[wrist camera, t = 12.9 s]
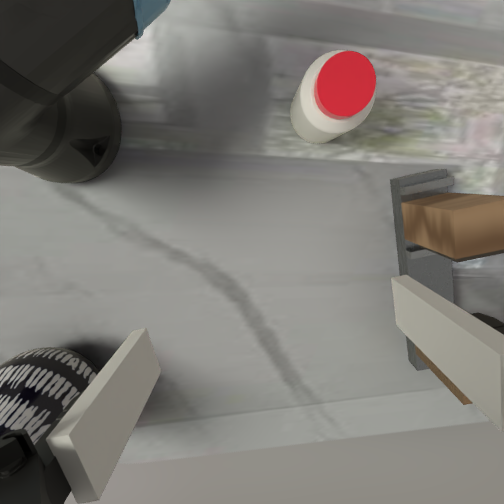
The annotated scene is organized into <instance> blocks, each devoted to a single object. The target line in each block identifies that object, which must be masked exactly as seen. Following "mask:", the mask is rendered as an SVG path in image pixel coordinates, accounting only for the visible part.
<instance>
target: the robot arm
mask: <svg viewBox="0 0 504 504" xmlns="http://www.w3.org/2000/svg"><path fill="white" fill-rule="evenodd" d="M170 1H171V0H0V166H15V167H17V168H19V169H21V170H23V171H25V172H28V173H30V174H32V175H34V176H36V177H38V178H41V179H44V180H47V181H51V182H57V183H78V182H84V181H88V180H90V179H93V178H95V177H97V176H98V175H100V174H101V173H103V172H104V171H105V170H106V169H107V168H108V167H109V166H110V164H111V163H112V162H113V160H114V158H115V156H116V154H117V152H118V149H119V145H120V140H121V120H120V115H119V111H118V108H117V105H116V103H115V100H114V98H113V96H112V95H111V93H110V91H109V90H108V88H107V87H106V86H105V84H104V83H103V82H102V81H101V80H100V79H99V78H98V77H97V76H96V75H95V74H94V73H93V72H95V71H96V70H97V69H98V68H99V67H101V66H102V65H103V64H104V63H106V62H107V61H108V60H109V59H110V58H112V57H113V56H114V55H115V54H116V53H118V52H119V51H120V50H121V49H122V48H124V47H125V46H126V45H127V44H129V43H130V42H131V41H132V40H133V39H137V40H138V39H139V38H140V37H141V36H142V35H143V31H144V29H145V28H146V27H147V26H148V25H150V24H151V23H152V22H153V21H154V20H155V19H156V18H157V17H158V16H159V15H160V14H161V13H163V12H164V11H165V9H166V8H167V7H168V5H169V3H170ZM391 281H392V290H393V299H394V308H395V317H396V326H397V327H398V328H399V329H400V330H401V331H402V332H403V333H404V334H405V335H406V336H407V337H408V338H409V339H410V340H411V341H412V342H413V343H414V344H415V345H416V346H417V347H418V348H419V349H420V350H421V351H422V352H423V353H424V354H425V355H426V356H427V357H428V358H429V359H430V360H431V361H432V362H433V363H434V364H435V365H436V366H437V367H438V368H439V369H440V370H441V371H442V372H443V373H444V374H445V375H446V376H447V377H448V378H449V379H450V380H451V381H452V382H453V383H454V384H455V385H456V386H457V387H458V388H459V389H460V390H461V392H462V393H463V394H464V395H465V396H466V397H467V398H468V399H469V400H470V401H471V402H472V403H473V404H474V405H475V406H476V407H477V408H478V409H479V410H480V411H481V412H482V413H483V414H484V415H485V416H486V417H487V418H488V419H489V420H490V421H491V422H492V423H493V424H494V425H495V426H496V427H497V428H498V429H499V430H500V431H501V432H504V323H502V322H501V321H499V320H497V319H495V318H493V317H490V316H487V315H484V314H481V313H473V314H469V313H468V312H466V311H464V310H463V309H461V308H459V307H458V306H456V305H455V304H453V303H451V302H450V301H448V300H446V299H445V298H443V297H442V296H440V295H438V294H437V293H435V292H433V291H432V290H430V289H429V288H427V287H425V286H424V285H422V284H421V283H419V282H417V281H416V280H414V279H412V278H411V277H409V276H408V275H402V276H397V277H392V278H391ZM160 373H161V369H160V366H159V363H158V360H157V357H156V354H155V351H154V348H153V346H152V343H151V340H150V337H149V334H148V331H147V328H144V329H139V330H134V331H132V332H131V334H130V335H129V336H128V337H127V339H126V340H125V341H124V342H123V344H122V345H121V346H120V347H119V349H118V350H117V351H116V352H115V354H114V355H113V356H112V357H111V359H110V360H109V361H108V362H107V364H106V365H105V366H104V367H103V368H102V370H101V371H100V372H99V373H98V375H97V376H96V377H95V378H94V380H93V381H92V382H91V383H90V385H89V386H88V387H87V388H86V390H83V391H82V392H81V393H79V394H78V395H77V396H76V397H74V398H73V399H72V400H71V401H70V402H69V404H68V405H67V406H66V407H65V408H64V410H63V412H61V413H60V414H59V416H58V417H57V418H56V421H54V422H53V423H52V424H51V425H50V426H49V428H48V429H47V430H46V431H45V432H44V434H43V435H42V436H41V437H40V438H39V440H38V441H37V442H36V443H35V445H34V444H33V442H32V440H31V438H30V436H29V434H28V432H27V431H26V429H17V430H14V431H11V432H9V433H7V434H5V435H3V436H1V437H0V504H64V502H65V500H66V498H67V497H68V495H69V493H70V492H71V491H72V493H73V495H74V498H75V500H76V502H77V503H78V504H80V503H86V502H91V501H97V500H100V497H101V495H102V493H103V491H104V489H105V487H106V485H107V483H108V481H109V479H110V477H111V475H112V473H113V471H114V469H115V466H116V464H117V462H118V460H119V458H120V456H121V454H122V452H123V450H124V448H125V446H126V444H127V442H128V440H129V437H130V435H131V433H132V431H133V429H134V427H135V425H136V423H137V421H138V419H139V417H140V415H141V413H142V411H143V409H144V406H145V404H146V402H147V400H148V398H149V396H150V394H151V392H152V390H153V388H154V386H155V384H156V382H157V380H158V377H159V375H160Z"/></svg>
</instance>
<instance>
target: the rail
mask: <svg viewBox="0 0 504 504" xmlns="http://www.w3.org/2000/svg"><path fill="white" fill-rule="evenodd" d="M390 184H391V193H392V203H393V213H394V222H395V232H396V242H397V251H398V261H399V270H400V276H402V275H408V276H409V277H411V278H412V279H414V280H416V281H417V282H419V283H421V284H422V285H424V286H425V287H427V288H429V289H430V290H432V291H433V292H435V293H437V294H438V295H440V296H442V297H443V298H445V299H446V300H448V301H450V302H451V303H453V304H454V291H453V274H452V260H451V259H448V258H446V257H443V256H441V255H438V254H436V253H433V252H431V251H428V250H426V249H423V248H421V247H419V245H418V244H415V243H413V242H410V241H408V240H405V236H404V226H403V216H402V205H401V203H403V202H407V201H412V200H416V199H421V198H425V197H430V196H434V195H439V194H444V193H448V186H450V185H454V178H453V177H447V169H435V170H430V171H426V172H421V173H417V174H412V175H408V176H403V177H399V178H395V179H390ZM406 338H407V348H408V357H409V361H410V363H411V364H412V365H413V366H414V367H415V368H416V370H417V371H419V370H424V369H431V371H432V372H433V373H434V374H435V375H436V376H437V377H438V378H439V379H440V380H441V381H442V382H443V383H444V384H445V385H446V387H447V388H448V389H449V390H450V391H451V392H452V393H453V394H454V395H455V396H456V397H457V398H458V399H459V400H460V401H461V403H462V404H463V405H465V404H471V403H472V402H471V401H470V400H469V399H468V398H467V397H466V396H465V395H464V394H463V393H462V392H461V390H460V389H459V388H458V387H457V386H456V385H455V384H454V383H453V382H452V381H451V380H450V379H449V378H448V377H447V376H446V375H445V374H444V373H443V372H442V371H441V370H440V369H439V368H438V367H437V366H436V365H435V364H434V363H433V362H432V361H431V360H430V359H429V358H428V357H427V356H426V355H425V354H424V353H423V352H422V351H421V350H420V349H419V348H418V347H417V346H416V345H415V344H414V343H413V342H412V341H411V340H410V339H409V338H408V337H407V336H406Z"/></svg>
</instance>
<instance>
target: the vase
mask: <svg viewBox="0 0 504 504" xmlns="http://www.w3.org/2000/svg"><path fill="white" fill-rule="evenodd" d="M98 373H99V371H98V370H97V368H96V367H95V366H94V364H93V363H92V362H91V361H89V360H88V359H87V358H86V357H84V356H83V355H81V354H79V353H77V352H75V351H72V350H69V349H64V348H56V347H46V348H38V349H33V350H29V351H26V352H23V353H21V354H19V355H16V356H14V357H12V358H11V359H9V360H7V361H6V362H4V363H3V364H1V365H0V437H1V436H3V435H5V434H7V433H9V432H11V431H14V430H17V429H26V431H27V432H28V434H29V436H30V438H31V440H32V442H33V444H34V445H35V443H36V442H37V441H38V440H39V438H40V437H41V436H42V435H43V434H44V432H45V431H46V430H47V429H48V428H49V426H50V425H51V424H52V423H53V422H54V421H56V418H57V417H58V416H59V414H60V413H61V412H63V410H64V408H65V407H66V406H67V405H68V404H69V402H70V401H71V400H72V399H73V398H74V397H76V396H77V395H78V394H79V393H81V392H82V391H83V390H86V388H87V387H88V386H89V385H90V383H91V382H92V381H93V380H94V378H95V377H96V376H97V375H98Z"/></svg>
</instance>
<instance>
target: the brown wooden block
mask: <svg viewBox="0 0 504 504" xmlns="http://www.w3.org/2000/svg"><path fill="white" fill-rule="evenodd" d="M401 205H402V216H403V226H404V236H405V240H408V241H410V242H413V243H415V244H418V245H419V247H421V248H423V249H426V250H428V251H431V252H433V253H436V254H438V255H441V256H443V257H446V258H448V259H451V260H453V261H456V262H462V261H467V260H472V259H476V258H481V257H486V256H491V255H496V254H501V253H504V196H495V195H479V194H463V193H444V194H439V195H434V196H430V197H425V198H421V199H416V200H412V201H407V202H403V203H401Z"/></svg>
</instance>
